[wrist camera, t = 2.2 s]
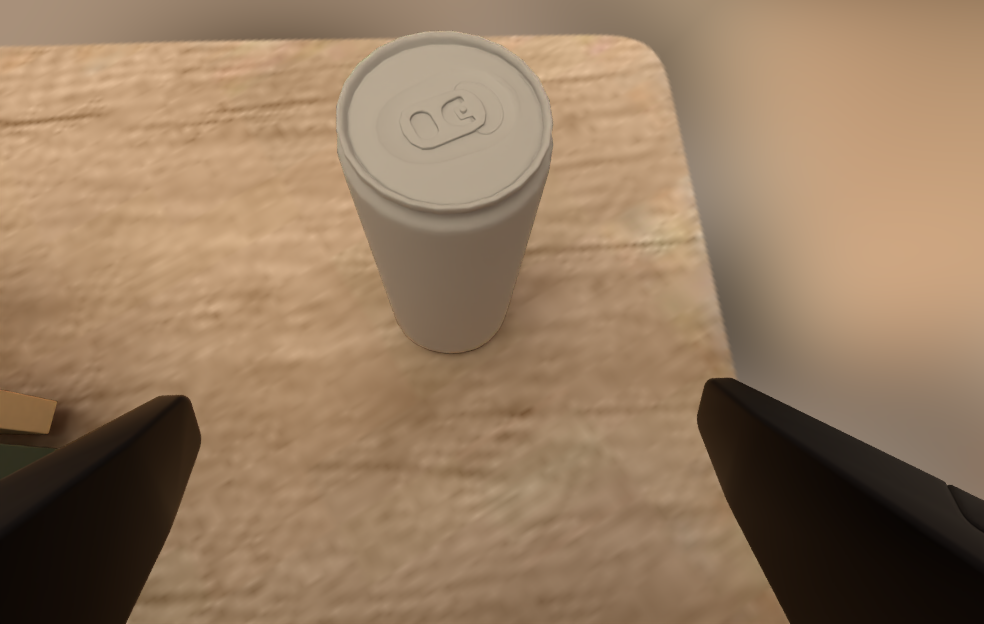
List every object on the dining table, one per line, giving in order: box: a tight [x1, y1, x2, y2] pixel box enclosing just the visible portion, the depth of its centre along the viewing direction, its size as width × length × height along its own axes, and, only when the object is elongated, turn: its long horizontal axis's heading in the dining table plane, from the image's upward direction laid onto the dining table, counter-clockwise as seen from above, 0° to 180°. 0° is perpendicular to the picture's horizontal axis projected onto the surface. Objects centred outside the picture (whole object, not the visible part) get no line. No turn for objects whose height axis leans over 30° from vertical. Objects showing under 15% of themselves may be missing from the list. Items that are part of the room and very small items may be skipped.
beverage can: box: [336, 31, 553, 353], centre depth 16 cm, size 5×5×12 cm
